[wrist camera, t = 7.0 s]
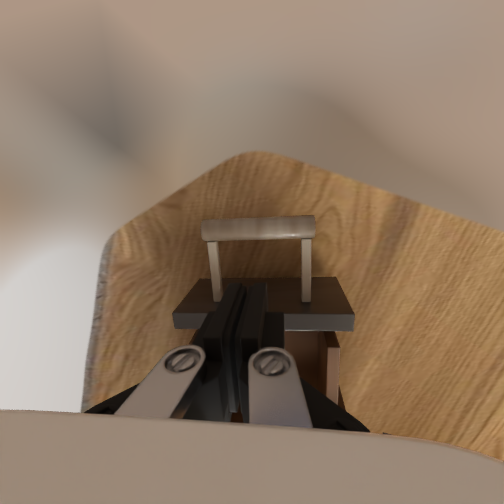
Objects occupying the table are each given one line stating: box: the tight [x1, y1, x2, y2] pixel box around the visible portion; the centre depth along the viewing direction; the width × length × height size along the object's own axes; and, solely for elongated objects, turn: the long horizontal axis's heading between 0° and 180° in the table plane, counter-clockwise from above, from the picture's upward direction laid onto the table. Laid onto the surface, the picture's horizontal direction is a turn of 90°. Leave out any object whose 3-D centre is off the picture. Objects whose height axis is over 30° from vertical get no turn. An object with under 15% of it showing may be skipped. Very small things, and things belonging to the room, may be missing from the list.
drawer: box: [172, 215, 355, 423], centre depth 20 cm, size 18×11×6 cm, turn 4°
